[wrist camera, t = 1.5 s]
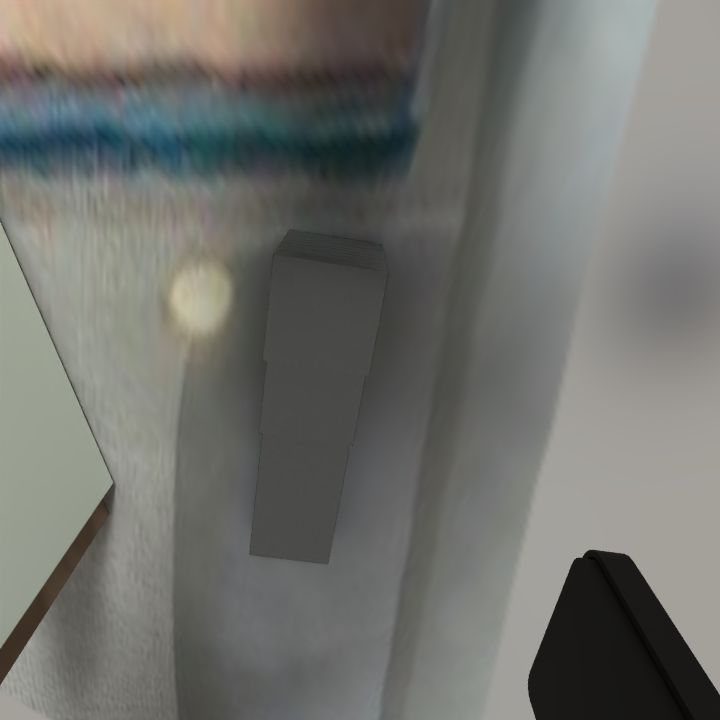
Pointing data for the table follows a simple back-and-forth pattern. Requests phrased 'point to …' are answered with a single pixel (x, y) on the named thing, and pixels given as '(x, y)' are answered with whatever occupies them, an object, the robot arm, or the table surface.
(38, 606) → the wooden posts
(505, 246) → the table surface
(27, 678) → the table surface
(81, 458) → the door
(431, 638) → the table surface
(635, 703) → the robot arm
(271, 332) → the dark gray beam
